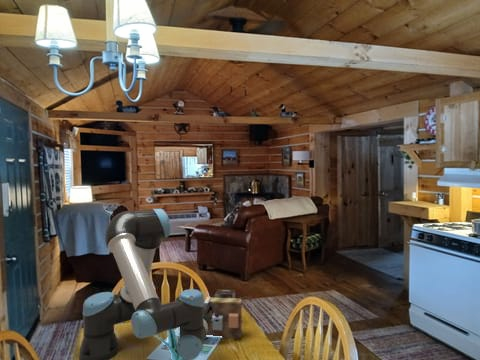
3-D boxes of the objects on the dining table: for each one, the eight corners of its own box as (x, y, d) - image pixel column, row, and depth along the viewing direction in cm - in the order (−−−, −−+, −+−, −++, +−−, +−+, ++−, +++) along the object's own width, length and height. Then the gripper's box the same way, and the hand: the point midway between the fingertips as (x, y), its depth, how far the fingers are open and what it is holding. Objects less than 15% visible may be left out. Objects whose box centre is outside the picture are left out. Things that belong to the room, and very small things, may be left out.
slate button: (212, 330, 150) (212, 318, 150) (215, 321, 158) (215, 310, 158) (221, 330, 150) (221, 318, 150) (224, 322, 158) (224, 311, 158)
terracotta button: (228, 327, 152) (228, 316, 152) (230, 319, 160) (230, 308, 160) (237, 328, 152) (237, 316, 152) (239, 319, 160) (239, 309, 160)
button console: (198, 337, 157) (198, 300, 156) (201, 331, 163) (200, 295, 162) (240, 339, 155) (240, 302, 154) (241, 332, 161) (241, 297, 161)
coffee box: (236, 322, 172) (236, 289, 171) (233, 328, 166) (232, 294, 165) (218, 320, 174) (218, 288, 173) (214, 326, 168) (214, 293, 167)
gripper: (178, 336, 121) (192, 308, 145) (216, 338, 120) (224, 309, 144) (178, 315, 121) (192, 290, 144) (216, 316, 120) (224, 291, 144)
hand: (208, 300), depth 144 cm, fingers closed
